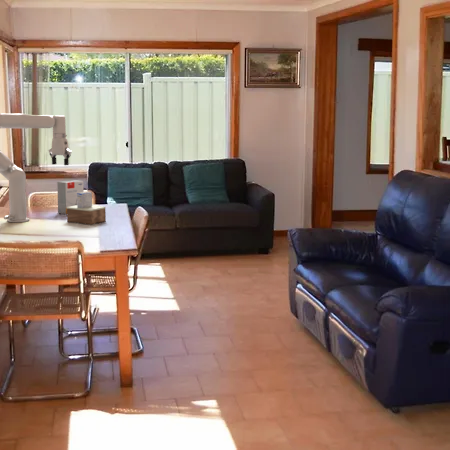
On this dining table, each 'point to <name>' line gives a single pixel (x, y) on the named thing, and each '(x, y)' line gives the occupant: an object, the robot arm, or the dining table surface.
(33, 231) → the dining table surface
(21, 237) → the dining table surface
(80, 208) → the lid
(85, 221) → the wooden box
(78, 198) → the medicine box
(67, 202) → the hard drive box
